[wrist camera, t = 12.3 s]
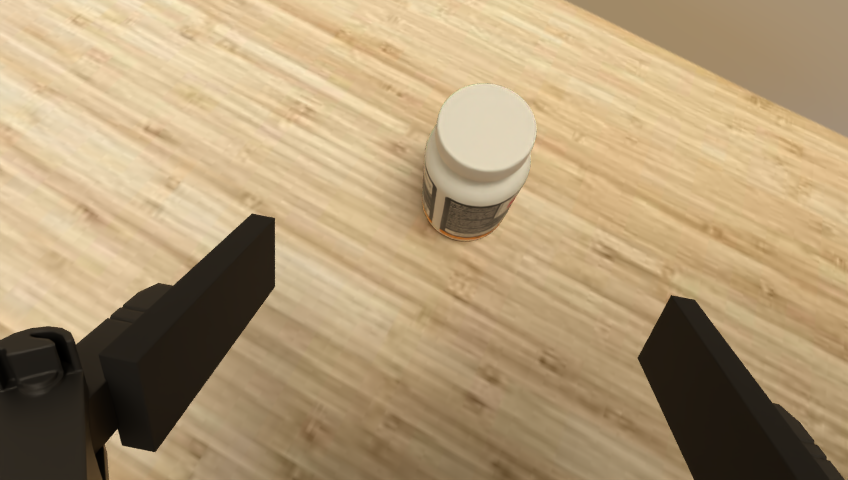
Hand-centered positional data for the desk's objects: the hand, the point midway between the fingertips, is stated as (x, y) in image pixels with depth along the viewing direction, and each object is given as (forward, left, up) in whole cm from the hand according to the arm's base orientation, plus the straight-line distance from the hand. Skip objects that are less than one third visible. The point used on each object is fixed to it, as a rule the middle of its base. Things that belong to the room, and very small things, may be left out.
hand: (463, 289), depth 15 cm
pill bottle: (-8, -1, -13) cm, 16 cm away
